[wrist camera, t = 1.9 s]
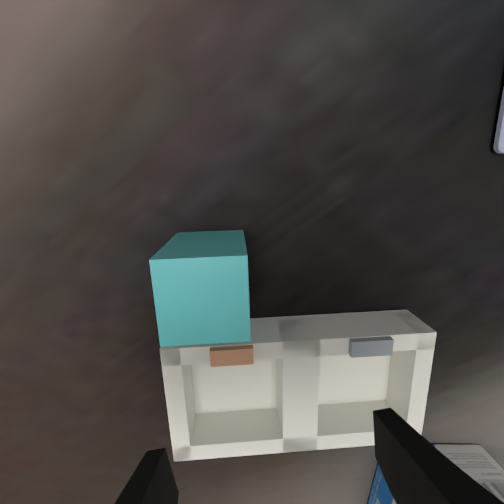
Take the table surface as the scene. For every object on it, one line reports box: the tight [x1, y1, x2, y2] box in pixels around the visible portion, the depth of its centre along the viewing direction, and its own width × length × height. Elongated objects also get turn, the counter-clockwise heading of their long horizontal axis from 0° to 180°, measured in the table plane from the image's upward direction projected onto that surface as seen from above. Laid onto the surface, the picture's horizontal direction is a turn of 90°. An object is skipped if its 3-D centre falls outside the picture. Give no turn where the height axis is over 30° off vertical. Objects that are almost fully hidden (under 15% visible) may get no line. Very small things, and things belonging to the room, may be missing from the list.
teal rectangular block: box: [149, 230, 251, 347], centre depth 15 cm, size 4×4×6 cm
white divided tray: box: [159, 309, 437, 461], centre depth 18 cm, size 16×8×3 cm, turn 92°
